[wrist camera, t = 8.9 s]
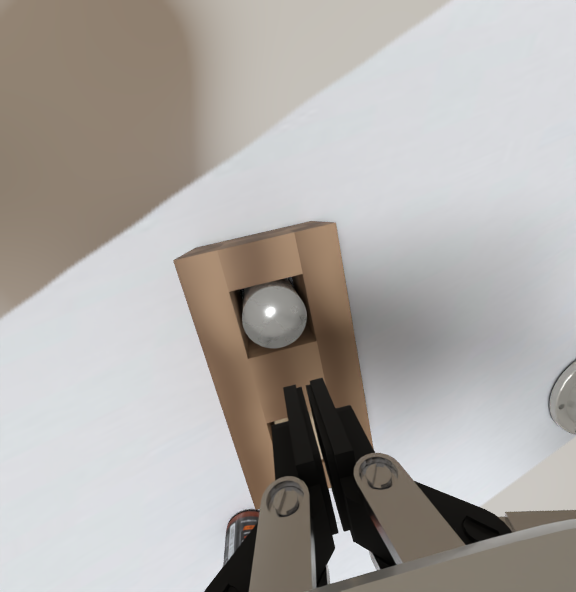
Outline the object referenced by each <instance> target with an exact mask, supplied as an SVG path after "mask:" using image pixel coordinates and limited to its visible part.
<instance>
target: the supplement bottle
mask: <svg viewBox="0 0 576 592" xmlns="http://www.w3.org/2000/svg"><path fill="white" fill-rule="evenodd" d="M259 513H260V512H256V511H246V512H242V513H240V514H238V515H236V516H235V517H233V518H232V519H231V520H230V522H229V524H228V526H227V530H226V540H225V552H224V565H225V564H226V562H227V561H228V560H229V559H230V557H231V556H232V555H233V553H234V552H235V551H236V550H237V548H238V547H239V546H240V544H241V543H242V542H243V540H244V539H245V538H246V537H247V535H248V534H249V533H250V531H251V530H252V529H253V527H254V526H255V525H256V524H257V522H258V520H259ZM224 565H223V566H224Z"/></svg>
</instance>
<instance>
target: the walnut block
mask: <svg viewBox="0 0 576 592" xmlns="http://www.w3.org/2000/svg"><path fill="white" fill-rule="evenodd" d="M173 261H174V264H175V268H176V271H177V274H178V277H179V280H180V283H181V286H182V289H183V292H184V295H185V298H186V301H187V304H188V307H189V310H190V313H191V316H192V319H193V322H194V325H195V328H196V331H197V334H198V337H199V340H200V343H201V346H202V349H203V352H204V355H205V358H206V361H207V364H208V367H209V370H210V373H211V376H212V379H213V382H214V385H215V388H216V391H217V394H218V397H219V401H220V404H221V407H222V410H223V413H224V416H225V419H226V422H227V425H228V428H229V431H230V434H231V437H232V440H233V443H234V446H235V449H236V452H237V455H238V458H239V461H240V464H241V467H242V470H243V473H244V476H245V479H246V482H247V485H248V488H249V491H250V494H251V497H252V500H253V503H254V506H255V509H256V510H257V509H260V505H261V499H262V496H263V493H264V492H265V490H266V488H267V487H268V486H269V485H270V484H271V483H272V482H273V481H275V471H274V457H273V444H272V431H271V426H272V425H274V421H277V420H281V419H284V418H288V416H287V410H286V403H285V397H284V391H283V387H287V386H291V385H295V384H296V388H298V387H302V390H303V394H304V397H305V401H306V405H307V408H308V412H310V411H311V407H310V403H309V399H308V394H307V390H306V385H310V381H311V380H314V379H318V378H323V380H324V382H325V385H326V387H327V389H328V392H329V394H330V397H331V399H332V401H333V404H334V406H335V408H340V407H343V406H347V405H351V407H352V409H353V411H354V412H355V414H356V416H357V418H358V420H359V422H360V424H361V426H362V428H363V430H364V432H365V434H366V436H367V438H368V440H369V442H370V444H371V446H372V448H373V443H372V437H371V431H370V425H369V419H368V413H367V407H366V401H365V395H364V389H363V383H362V377H361V371H360V365H359V359H358V353H357V347H356V341H355V335H354V329H353V323H352V317H351V311H350V305H349V299H348V293H347V287H346V281H345V275H344V269H343V263H342V257H341V251H340V245H339V239H338V233H337V227H336V223H333V222H316V221H310V222H305V223H301V224H297V225H292V226H288V227H284V228H279V229H275V230H271V231H266V232H262V233H258V234H253V235H249V236H245V237H240V238H236V239H232V240H227V241H223V242H219V243H214V244H210V245H206V246H202V247H197V248H194V249H193V250H191V251H189V252H187V253H186V254H184V255H182V256H180V257H178V258H177V259H175V260H173ZM288 277H292V280H293V284H294V289H295V290H296V292H297V294H298V295H299V297H300V298H301V300H302V301H303V303H304V305H305V308H306V312H307V321H306V325H305V328H304V330H303V332H302V334H301V335H300V336H299V338H298V339H297V340H295V341H294V342H293V343H291V344H289V345H287V346H285V347H281V348H266V347H262V346H260V345H258V344H256V343H255V342H253V341H252V340H251V339H250V338H249V337H248V335H247V334H246V332H245V330H244V327H243V323H242V312H243V300H242V296H241V292H240V289H242V288H247V287H251V286H255V285H259V284H263V283H267V282H271V281H275V280H280V279H284V278H288ZM373 450H374V449H373ZM322 464H323V468H324V472H325V477H326V481H327V485H328V488H331V485H330V481H329V478H328V474H327V471H326V467H325V463H324V460H323V459H322Z"/></svg>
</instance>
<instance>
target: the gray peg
mask: <svg viewBox="0 0 576 592" xmlns="http://www.w3.org/2000/svg"><path fill="white" fill-rule="evenodd" d="M306 321H307V312H306V308H305V305H304V303H303V301H302V300H301V298H300V297H299V295H298V294H297V292H296V290H295V289H294V287H293V286H292V284H291V283H290V281H289V279H288V278H284V279H280V280H275V281H271V282H267V283H263V284H259V285H255V286H251V287H247V288H244V298H243V312H242V323H243V327H244V330H245V332H246V334H247V335H248V337H249V338H250V339H251V340H252V341H253V342H255V343H256V344H258V345H260V346H262V347H266V348H281V347H285V346H287V345H289V344H291V343H293V342H294V341H295V340H297V339H298V338H299V336H300V335H301V334H302V332H303V330H304V328H305V325H306Z"/></svg>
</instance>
